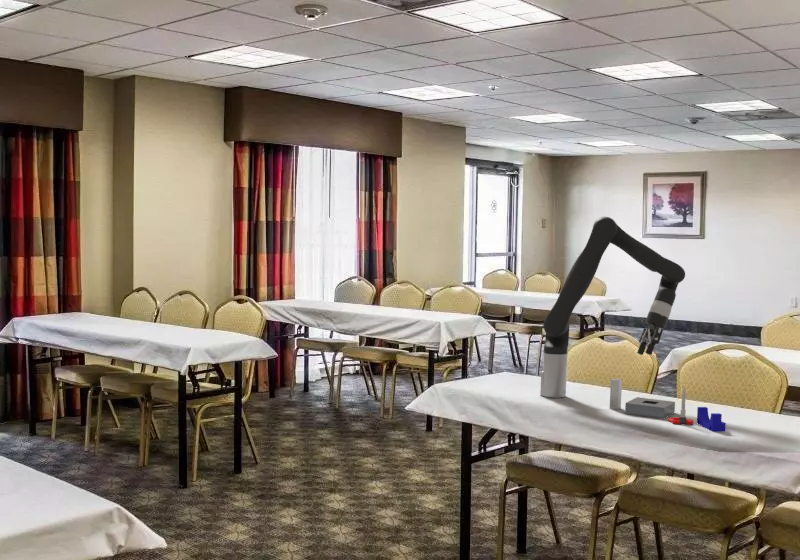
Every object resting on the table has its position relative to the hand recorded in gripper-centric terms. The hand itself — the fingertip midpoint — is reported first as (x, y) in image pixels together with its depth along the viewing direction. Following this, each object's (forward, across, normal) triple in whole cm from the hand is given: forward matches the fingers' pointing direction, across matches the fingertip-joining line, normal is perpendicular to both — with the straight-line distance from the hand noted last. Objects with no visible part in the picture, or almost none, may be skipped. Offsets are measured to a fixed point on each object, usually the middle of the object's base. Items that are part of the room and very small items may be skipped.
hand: (644, 354), depth 329 cm
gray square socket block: (+21, +10, +6) cm, 24 cm away
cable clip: (+20, +32, +20) cm, 42 cm away
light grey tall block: (+24, +2, -4) cm, 24 cm away
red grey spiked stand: (+21, +24, +12) cm, 34 cm away
